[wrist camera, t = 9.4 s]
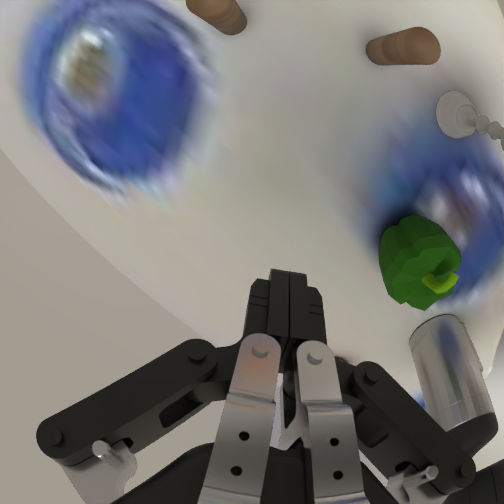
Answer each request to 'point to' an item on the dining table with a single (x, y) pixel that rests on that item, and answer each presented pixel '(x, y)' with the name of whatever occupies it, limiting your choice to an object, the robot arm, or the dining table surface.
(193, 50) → the dining table surface
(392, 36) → the post
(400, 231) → the bell pepper
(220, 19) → the post
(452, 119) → the chalice
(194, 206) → the dining table surface
